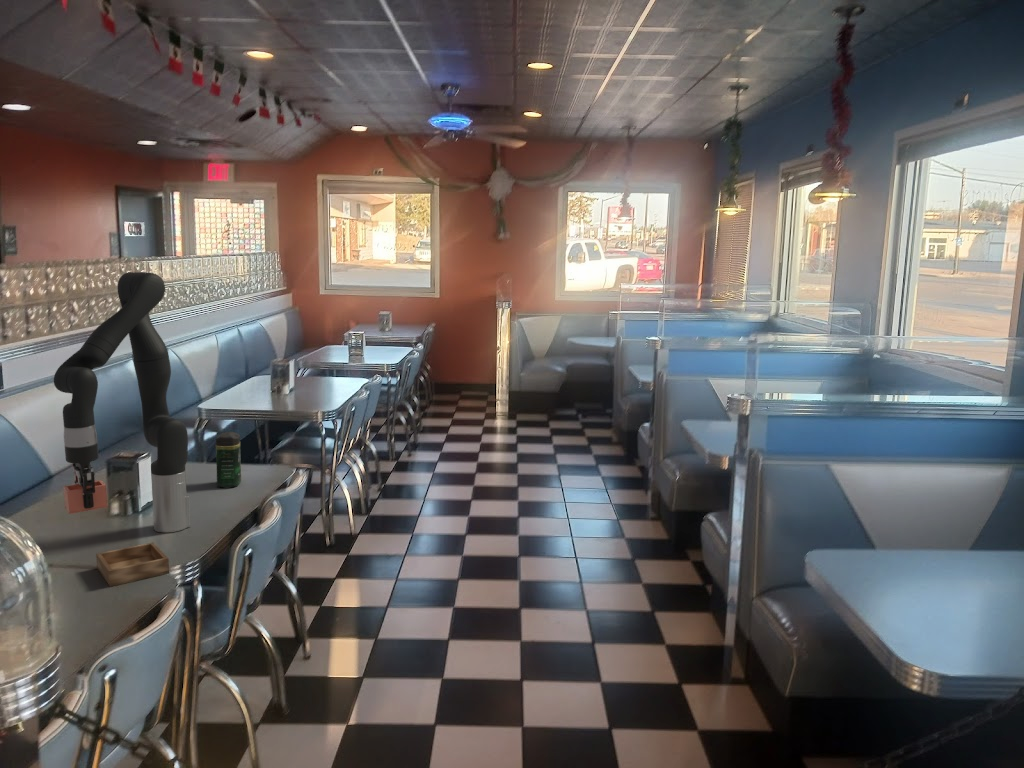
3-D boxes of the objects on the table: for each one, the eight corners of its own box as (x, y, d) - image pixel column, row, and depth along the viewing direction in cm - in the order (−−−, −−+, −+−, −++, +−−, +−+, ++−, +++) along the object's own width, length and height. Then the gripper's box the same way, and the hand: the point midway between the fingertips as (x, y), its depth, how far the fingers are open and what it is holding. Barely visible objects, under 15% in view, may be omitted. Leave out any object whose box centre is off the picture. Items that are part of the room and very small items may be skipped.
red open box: (102, 501, 210) (101, 480, 209) (107, 506, 206) (106, 485, 205) (65, 508, 204) (63, 486, 203) (69, 513, 200) (67, 491, 199)
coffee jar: (239, 488, 270) (237, 436, 267) (215, 488, 269) (213, 436, 265) (243, 480, 279) (241, 429, 276) (220, 480, 278) (218, 430, 275)
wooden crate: (154, 556, 209) (153, 542, 208) (169, 573, 199) (168, 558, 198) (97, 568, 200) (96, 553, 200) (109, 586, 190) (108, 571, 189)
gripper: (103, 446, 199) (108, 509, 202) (90, 435, 210) (95, 495, 213) (70, 450, 194) (76, 515, 197) (59, 439, 205) (64, 500, 208)
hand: (86, 504), depth 205 cm, fingers closed on red open box, 5 cm apart
